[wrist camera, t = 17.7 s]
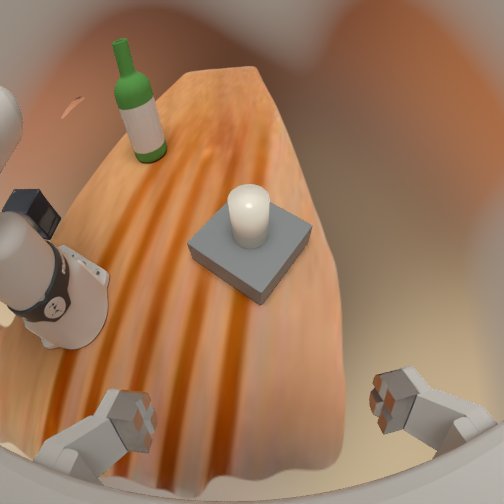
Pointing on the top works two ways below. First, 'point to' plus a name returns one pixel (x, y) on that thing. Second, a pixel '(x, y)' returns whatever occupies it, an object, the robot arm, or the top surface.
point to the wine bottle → (138, 107)
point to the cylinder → (249, 215)
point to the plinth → (251, 251)
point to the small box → (34, 210)
